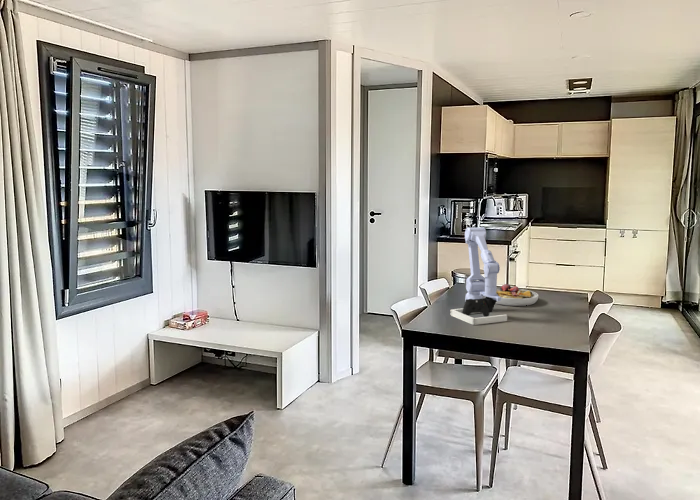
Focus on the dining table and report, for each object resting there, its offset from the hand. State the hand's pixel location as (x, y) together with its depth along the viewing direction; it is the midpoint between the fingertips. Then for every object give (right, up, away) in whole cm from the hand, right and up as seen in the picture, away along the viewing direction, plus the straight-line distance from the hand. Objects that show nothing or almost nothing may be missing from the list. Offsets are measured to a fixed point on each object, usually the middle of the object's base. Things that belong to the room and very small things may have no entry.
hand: (489, 312), depth 282 cm
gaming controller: (-8, -3, -2) cm, 9 cm away
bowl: (+21, +2, +37) cm, 42 cm away
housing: (-6, -3, -2) cm, 7 cm away
